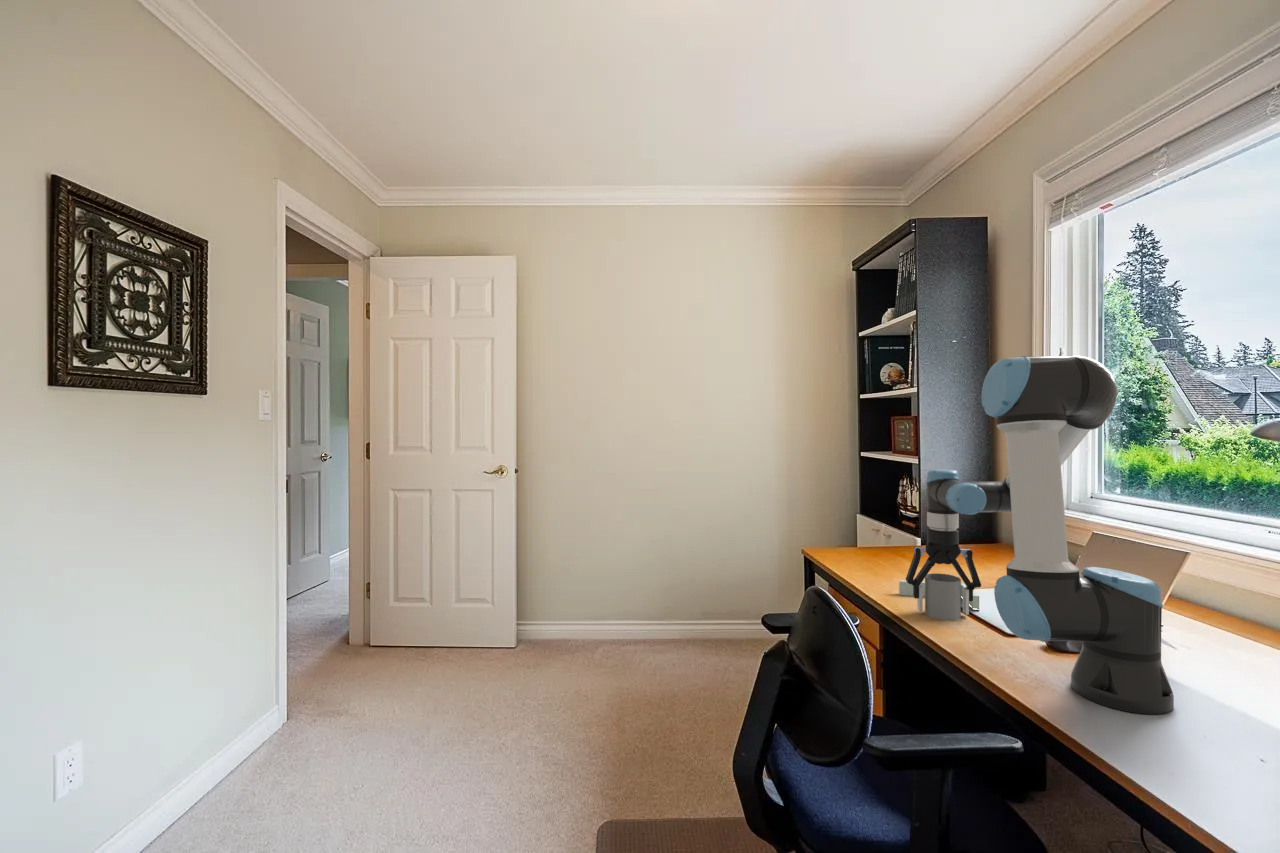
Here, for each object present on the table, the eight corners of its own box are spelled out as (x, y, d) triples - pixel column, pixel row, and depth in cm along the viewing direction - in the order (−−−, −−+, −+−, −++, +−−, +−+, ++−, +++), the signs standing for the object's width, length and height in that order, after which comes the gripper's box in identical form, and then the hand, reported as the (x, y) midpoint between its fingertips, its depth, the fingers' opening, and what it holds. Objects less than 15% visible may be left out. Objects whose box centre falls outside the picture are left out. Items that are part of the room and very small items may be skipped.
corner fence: (979, 611, 163) (979, 596, 162) (907, 606, 167) (907, 592, 167) (965, 597, 175) (965, 583, 174) (899, 593, 179) (898, 580, 179)
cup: (924, 617, 158) (924, 579, 158) (925, 608, 165) (925, 572, 165) (960, 622, 154) (960, 583, 154) (960, 612, 161) (960, 575, 161)
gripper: (986, 527, 160) (986, 609, 161) (893, 524, 166) (893, 604, 166) (995, 532, 153) (995, 619, 153) (898, 529, 158) (898, 613, 159)
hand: (942, 611), depth 160 cm, fingers open, 10 cm apart
